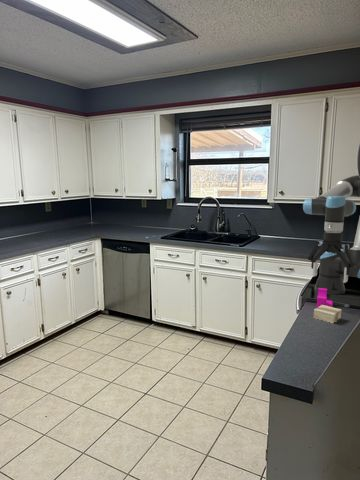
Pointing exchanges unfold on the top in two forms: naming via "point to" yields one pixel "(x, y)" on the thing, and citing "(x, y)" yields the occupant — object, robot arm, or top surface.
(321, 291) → the toy block
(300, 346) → the top surface
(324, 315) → the riser
